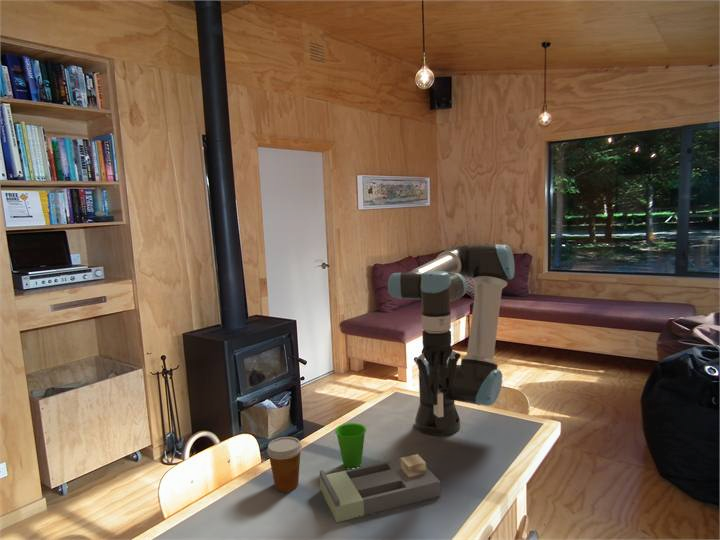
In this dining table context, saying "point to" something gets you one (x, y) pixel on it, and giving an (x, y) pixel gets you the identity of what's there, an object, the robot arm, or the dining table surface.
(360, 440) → the cup
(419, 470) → the block
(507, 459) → the dining table surface
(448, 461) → the dining table surface
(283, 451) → the disposable coffee cup
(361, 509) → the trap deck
